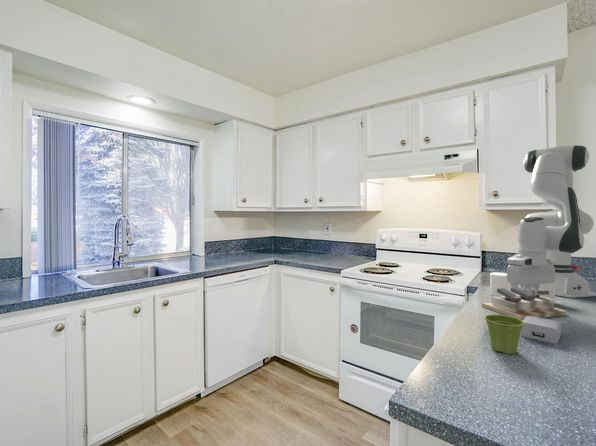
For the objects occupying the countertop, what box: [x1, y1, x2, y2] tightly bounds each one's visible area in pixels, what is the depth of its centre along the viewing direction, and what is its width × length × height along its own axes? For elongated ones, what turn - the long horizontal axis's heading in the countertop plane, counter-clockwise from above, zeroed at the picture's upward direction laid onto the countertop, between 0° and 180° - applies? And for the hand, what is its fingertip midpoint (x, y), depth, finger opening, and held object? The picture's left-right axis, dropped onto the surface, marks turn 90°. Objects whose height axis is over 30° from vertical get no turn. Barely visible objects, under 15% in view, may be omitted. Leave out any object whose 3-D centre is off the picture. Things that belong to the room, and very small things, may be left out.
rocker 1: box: [497, 288, 521, 302], centre depth 120 cm, size 3×8×2 cm, turn 14°
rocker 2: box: [510, 286, 536, 300], centre depth 121 cm, size 3×8×2 cm, turn 14°
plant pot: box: [484, 314, 524, 355], centre depth 87 cm, size 9×9×9 cm
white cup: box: [537, 280, 556, 300], centre depth 132 cm, size 8×8×10 cm
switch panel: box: [481, 294, 568, 321], centre depth 122 cm, size 22×17×6 cm
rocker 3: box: [523, 289, 549, 295], centre depth 123 cm, size 3×8×2 cm, turn 14°
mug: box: [489, 271, 522, 297], centre depth 143 cm, size 8×10×12 cm
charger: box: [520, 316, 562, 345], centre depth 99 cm, size 5×9×15 cm
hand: (531, 295), depth 118 cm, fingers closed, pressing on rocker 2
